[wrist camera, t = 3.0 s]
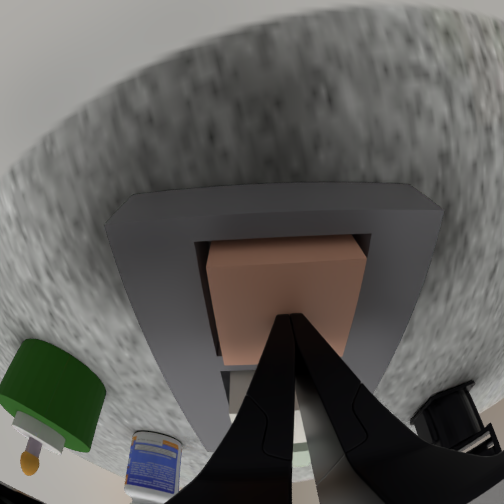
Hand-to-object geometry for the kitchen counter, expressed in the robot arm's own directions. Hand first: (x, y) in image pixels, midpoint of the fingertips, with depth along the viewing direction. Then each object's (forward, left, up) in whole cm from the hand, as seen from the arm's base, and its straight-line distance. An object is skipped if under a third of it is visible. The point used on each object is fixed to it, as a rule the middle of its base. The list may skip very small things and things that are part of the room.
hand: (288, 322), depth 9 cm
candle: (+17, +10, -4) cm, 20 cm away
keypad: (0, +6, -3) cm, 7 cm away
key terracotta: (0, 0, -2) cm, 2 cm away
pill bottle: (+12, +22, -4) cm, 25 cm away
